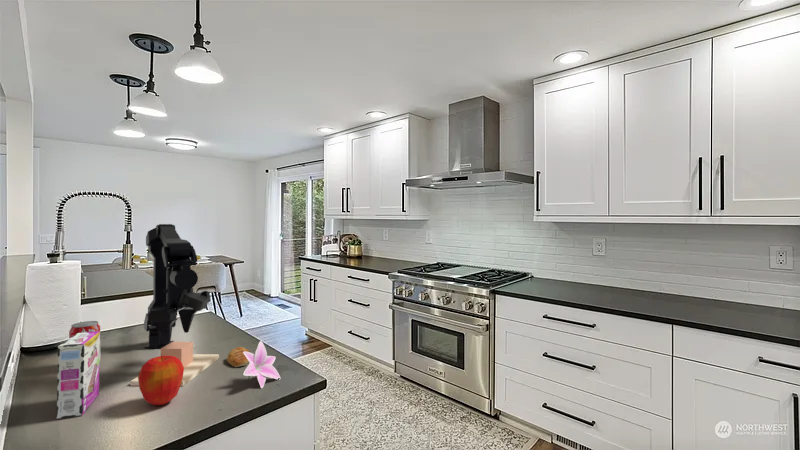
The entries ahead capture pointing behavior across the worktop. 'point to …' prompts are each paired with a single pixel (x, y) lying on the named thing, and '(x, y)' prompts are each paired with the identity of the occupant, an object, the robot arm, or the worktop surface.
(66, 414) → the candy bar box
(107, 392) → the worktop surface
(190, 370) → the birch board
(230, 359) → the pastry
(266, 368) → the lily
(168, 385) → the apple
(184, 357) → the terracotta cube
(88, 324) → the soda can
